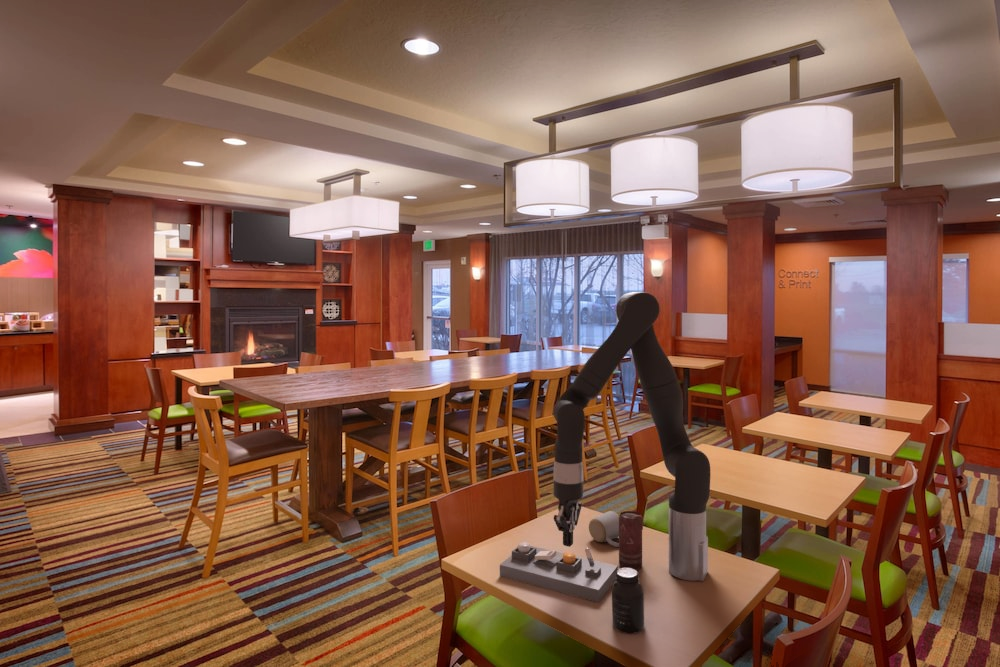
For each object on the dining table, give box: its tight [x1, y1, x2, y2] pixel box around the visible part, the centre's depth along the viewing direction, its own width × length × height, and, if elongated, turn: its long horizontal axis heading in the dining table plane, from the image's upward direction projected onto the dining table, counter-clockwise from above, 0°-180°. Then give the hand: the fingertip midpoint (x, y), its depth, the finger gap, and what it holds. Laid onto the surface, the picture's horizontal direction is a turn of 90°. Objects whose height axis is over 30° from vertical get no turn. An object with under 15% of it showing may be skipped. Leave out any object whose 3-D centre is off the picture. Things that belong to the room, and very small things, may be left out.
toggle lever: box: [584, 547, 595, 567], centre depth 140 cm, size 1×1×5 cm
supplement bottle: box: [611, 567, 645, 634], centre depth 122 cm, size 7×7×12 cm
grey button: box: [517, 542, 531, 554], centre depth 150 cm, size 3×3×2 cm
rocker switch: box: [535, 550, 557, 560], centre depth 146 cm, size 5×3×1 cm
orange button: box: [563, 552, 576, 565], centre depth 143 cm, size 3×3×2 cm
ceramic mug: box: [588, 510, 620, 548], centre depth 166 cm, size 11×8×8 cm
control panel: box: [499, 545, 619, 603], centre depth 145 cm, size 27×14×5 cm, turn 60°
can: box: [618, 510, 644, 571], centre depth 150 cm, size 6×6×14 cm
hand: (568, 544), depth 143 cm, fingers closed
